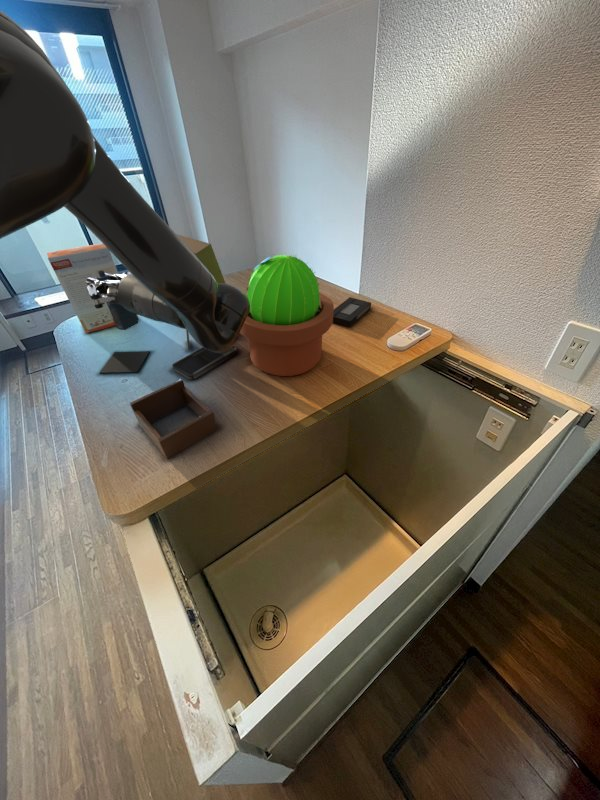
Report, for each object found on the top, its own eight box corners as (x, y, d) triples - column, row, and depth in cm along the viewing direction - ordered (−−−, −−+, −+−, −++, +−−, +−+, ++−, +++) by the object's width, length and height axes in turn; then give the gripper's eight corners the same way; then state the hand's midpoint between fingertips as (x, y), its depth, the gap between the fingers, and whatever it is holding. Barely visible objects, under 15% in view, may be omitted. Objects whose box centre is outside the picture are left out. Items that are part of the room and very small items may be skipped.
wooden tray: (217, 428, 63) (211, 406, 59) (167, 458, 58) (156, 436, 54) (188, 400, 70) (181, 378, 66) (140, 425, 64) (129, 402, 60)
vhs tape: (370, 308, 102) (371, 302, 100) (349, 327, 93) (350, 321, 92) (349, 303, 105) (349, 297, 104) (326, 320, 96) (327, 314, 95)
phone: (238, 348, 83) (190, 376, 74) (239, 352, 84) (191, 380, 75) (217, 339, 87) (169, 364, 78) (218, 342, 87) (171, 368, 79)
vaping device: (114, 330, 70) (90, 272, 62) (133, 320, 74) (112, 264, 66) (123, 331, 69) (100, 273, 62) (141, 321, 73) (121, 265, 65)
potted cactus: (345, 349, 84) (354, 246, 68) (298, 395, 71) (296, 281, 54) (277, 327, 94) (270, 232, 77) (224, 364, 80) (202, 258, 63)
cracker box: (132, 313, 102) (105, 241, 88) (137, 321, 98) (109, 247, 84) (83, 325, 96) (45, 250, 82) (85, 334, 92) (46, 257, 78)
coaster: (100, 373, 78) (99, 372, 77) (115, 353, 84) (114, 351, 84) (137, 373, 78) (137, 371, 77) (150, 352, 84) (149, 351, 84)
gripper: (177, 264, 60) (119, 251, 67) (109, 291, 51) (51, 272, 59) (187, 302, 65) (132, 286, 72) (127, 333, 56) (72, 311, 64)
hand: (96, 280), depth 65 cm, fingers closed on vaping device, 2 cm apart
